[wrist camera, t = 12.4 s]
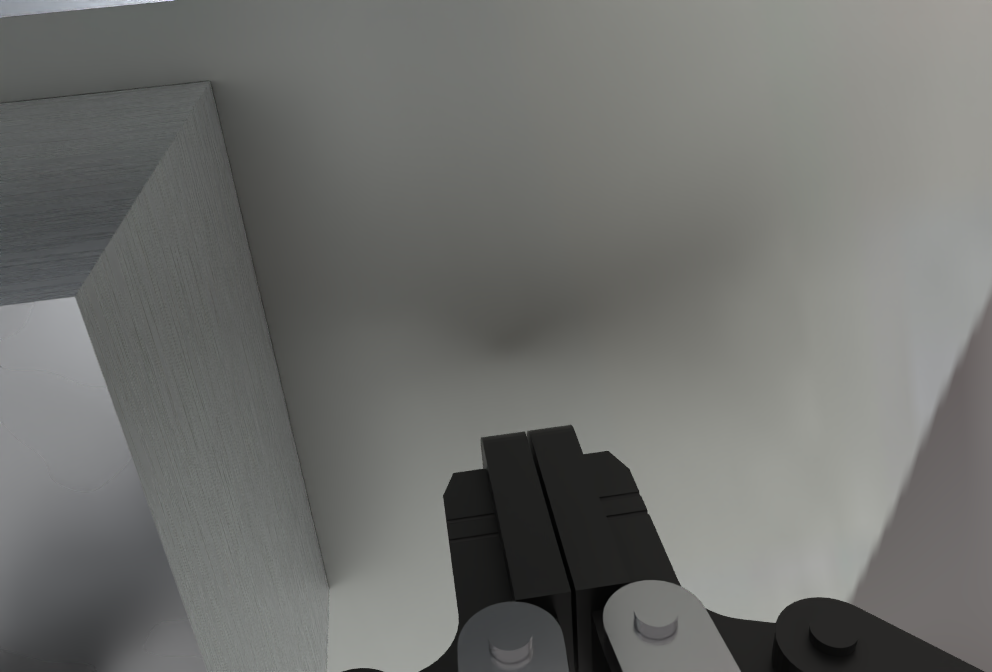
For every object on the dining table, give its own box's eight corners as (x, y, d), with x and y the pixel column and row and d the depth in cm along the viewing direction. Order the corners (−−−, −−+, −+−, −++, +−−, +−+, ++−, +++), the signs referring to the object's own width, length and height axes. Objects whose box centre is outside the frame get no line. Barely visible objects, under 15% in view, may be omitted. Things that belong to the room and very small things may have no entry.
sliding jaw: (79, 630, 20) (-250, 1562, 9) (-149, 119, 14) (-1838, 1021, 3) (329, 590, 20) (302, 1427, 9) (209, 81, 14) (-209, 751, 4)
